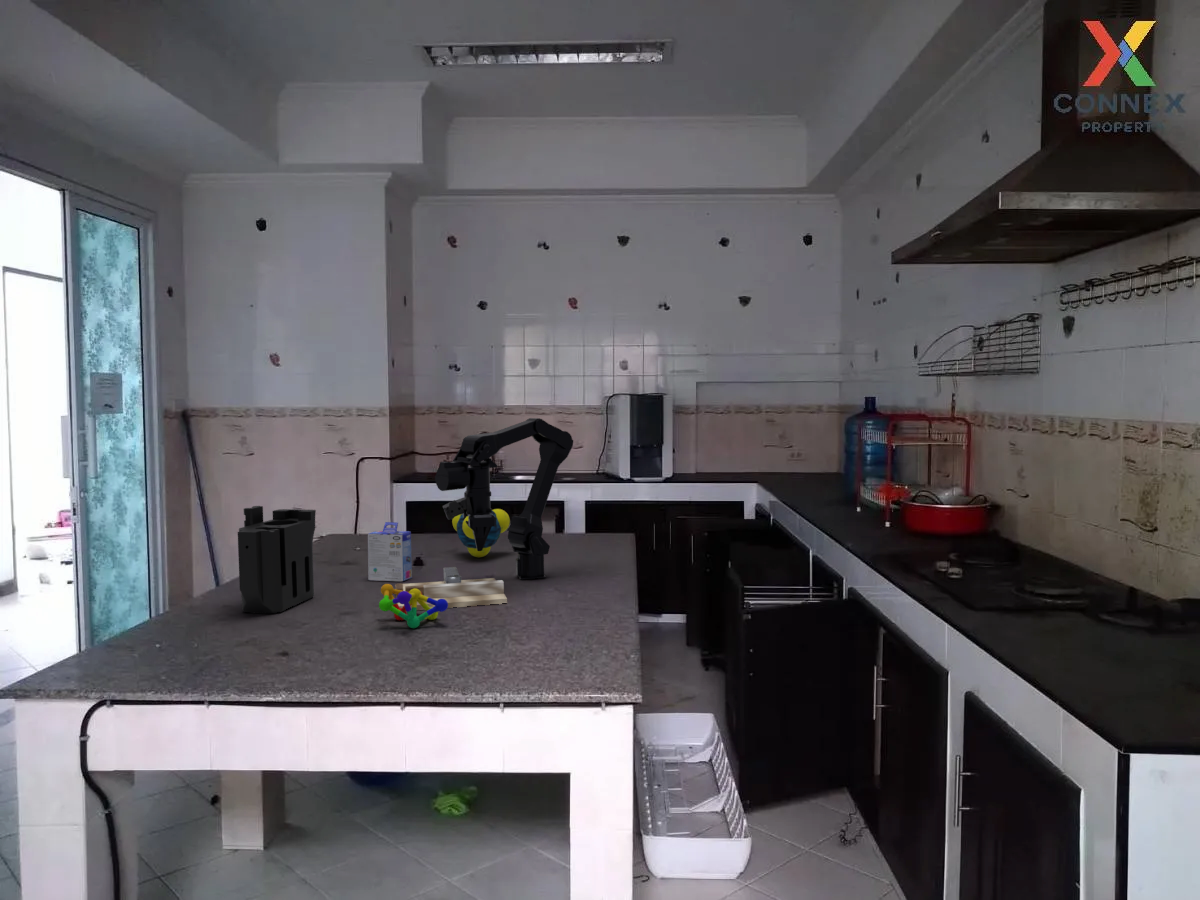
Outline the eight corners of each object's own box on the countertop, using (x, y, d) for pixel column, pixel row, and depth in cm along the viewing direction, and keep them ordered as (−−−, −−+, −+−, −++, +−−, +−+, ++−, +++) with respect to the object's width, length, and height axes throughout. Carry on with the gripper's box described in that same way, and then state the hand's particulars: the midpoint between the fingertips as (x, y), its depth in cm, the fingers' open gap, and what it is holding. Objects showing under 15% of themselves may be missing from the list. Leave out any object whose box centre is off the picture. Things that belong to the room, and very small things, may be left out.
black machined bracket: (320, 595, 198) (317, 502, 197) (270, 618, 178) (266, 515, 176) (274, 593, 200) (271, 502, 199) (220, 616, 180) (216, 514, 179)
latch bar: (462, 590, 194) (461, 577, 194) (446, 591, 193) (446, 578, 193) (457, 578, 206) (457, 566, 206) (442, 579, 205) (442, 567, 205)
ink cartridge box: (413, 577, 217) (411, 522, 216) (404, 582, 211) (402, 525, 210) (377, 576, 219) (376, 521, 218) (367, 581, 213) (366, 524, 212)
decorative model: (434, 592, 183) (454, 588, 170) (428, 633, 181) (447, 632, 168) (375, 583, 178) (390, 577, 165) (367, 624, 176) (382, 623, 162)
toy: (505, 563, 233) (504, 510, 232) (444, 564, 234) (443, 510, 233) (511, 552, 249) (511, 502, 248) (455, 553, 250) (454, 503, 249)
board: (494, 582, 210) (494, 567, 209) (507, 603, 188) (506, 587, 188) (395, 589, 204) (395, 573, 203) (397, 611, 182) (396, 594, 182)
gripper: (441, 484, 211) (443, 546, 212) (447, 493, 192) (449, 560, 194) (486, 482, 213) (487, 543, 214) (495, 491, 195) (497, 557, 196)
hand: (479, 550), depth 205 cm, fingers closed
